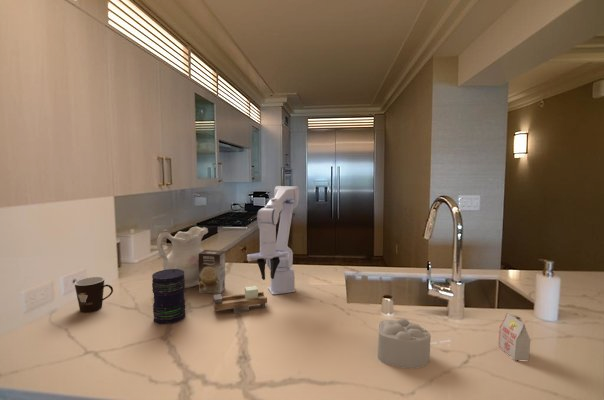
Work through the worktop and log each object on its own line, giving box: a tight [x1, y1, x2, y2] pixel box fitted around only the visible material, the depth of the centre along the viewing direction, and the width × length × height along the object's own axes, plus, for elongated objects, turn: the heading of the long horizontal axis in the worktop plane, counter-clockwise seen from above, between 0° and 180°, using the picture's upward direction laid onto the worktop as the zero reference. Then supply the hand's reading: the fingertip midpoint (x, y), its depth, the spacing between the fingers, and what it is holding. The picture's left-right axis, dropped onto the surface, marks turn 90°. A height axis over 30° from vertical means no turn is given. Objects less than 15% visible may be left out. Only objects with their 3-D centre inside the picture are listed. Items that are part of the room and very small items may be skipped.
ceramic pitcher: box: [156, 226, 209, 289], centre depth 133 cm, size 22×20×25 cm
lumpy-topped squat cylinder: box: [377, 317, 432, 369], centre depth 82 cm, size 10×13×9 cm
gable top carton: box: [498, 312, 531, 361], centre depth 84 cm, size 4×7×10 cm, turn 179°
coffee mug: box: [74, 276, 114, 314], centre depth 108 cm, size 12×9×10 cm
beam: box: [212, 291, 268, 314], centre depth 110 cm, size 18×6×5 cm, turn 111°
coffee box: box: [198, 249, 226, 295], centre depth 126 cm, size 9×6×16 cm
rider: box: [244, 285, 259, 300], centre depth 111 cm, size 4×4×4 cm
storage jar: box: [151, 269, 186, 326], centre depth 102 cm, size 10×10×15 cm
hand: (267, 278), depth 113 cm, fingers open, 3 cm apart
